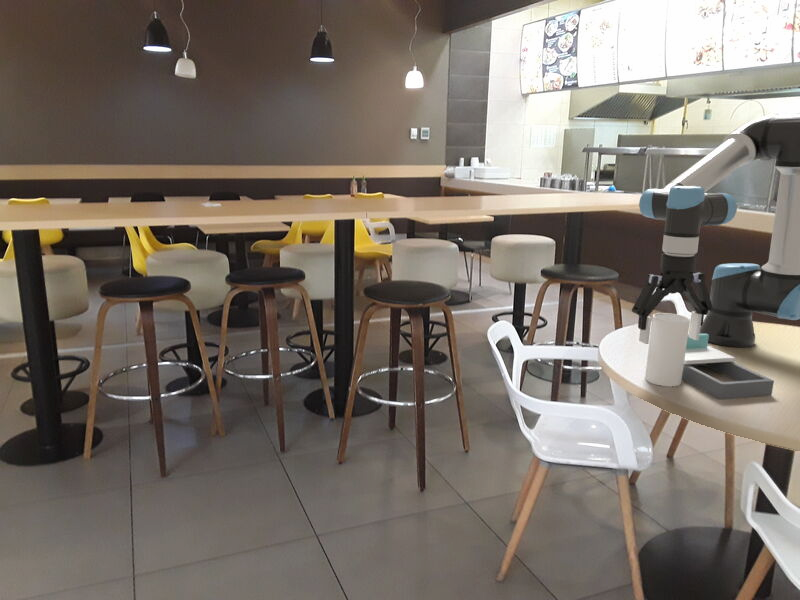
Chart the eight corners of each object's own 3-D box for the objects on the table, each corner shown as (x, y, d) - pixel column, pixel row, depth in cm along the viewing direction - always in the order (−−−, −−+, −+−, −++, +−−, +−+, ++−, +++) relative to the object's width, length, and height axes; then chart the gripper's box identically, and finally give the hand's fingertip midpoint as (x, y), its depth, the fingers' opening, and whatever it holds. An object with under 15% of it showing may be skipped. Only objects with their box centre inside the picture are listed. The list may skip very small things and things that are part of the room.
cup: (678, 389, 147) (687, 324, 143) (641, 381, 151) (649, 318, 147) (683, 378, 154) (692, 316, 150) (648, 372, 158) (656, 311, 154)
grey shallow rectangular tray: (706, 363, 165) (708, 350, 165) (771, 395, 145) (774, 380, 144) (659, 366, 162) (661, 353, 161) (719, 399, 142) (721, 384, 141)
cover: (708, 349, 164) (710, 333, 163) (734, 361, 156) (737, 344, 154) (661, 352, 161) (663, 335, 160) (685, 364, 152) (687, 346, 151)
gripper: (714, 249, 151) (703, 332, 157) (621, 252, 146) (613, 339, 151) (736, 254, 144) (724, 341, 150) (640, 258, 139) (631, 348, 144)
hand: (668, 340), depth 150 cm, fingers open, 13 cm apart
